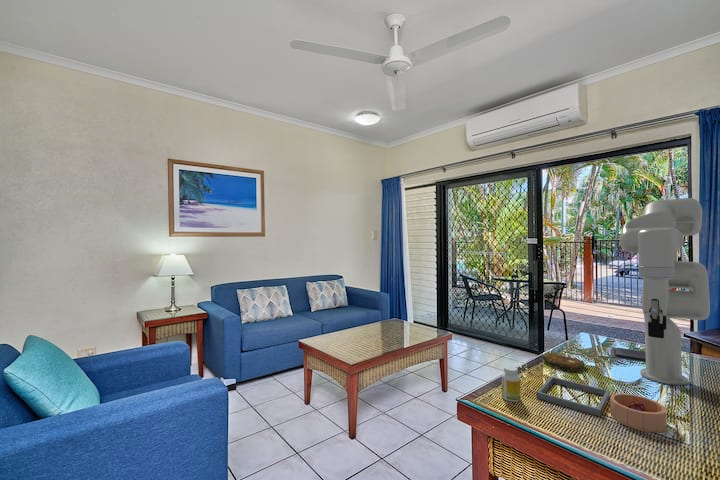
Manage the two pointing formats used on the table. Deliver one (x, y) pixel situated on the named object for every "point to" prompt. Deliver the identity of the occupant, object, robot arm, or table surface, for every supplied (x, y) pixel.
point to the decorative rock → (564, 361)
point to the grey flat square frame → (572, 404)
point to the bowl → (638, 413)
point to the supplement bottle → (511, 384)
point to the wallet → (628, 354)
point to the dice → (637, 406)
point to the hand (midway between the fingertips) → (657, 332)
